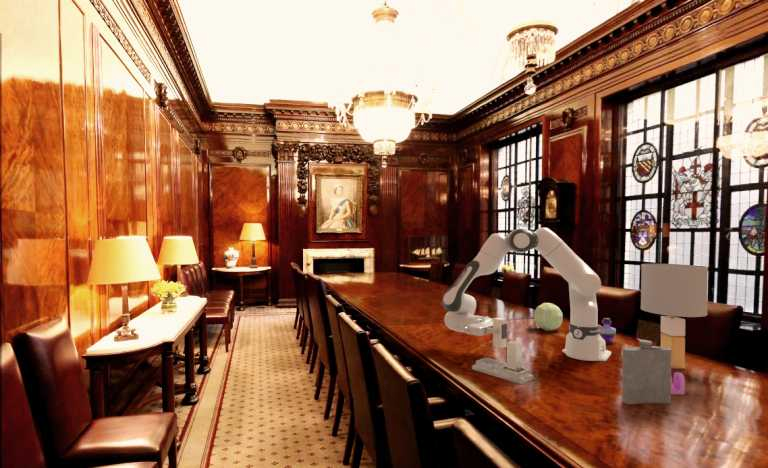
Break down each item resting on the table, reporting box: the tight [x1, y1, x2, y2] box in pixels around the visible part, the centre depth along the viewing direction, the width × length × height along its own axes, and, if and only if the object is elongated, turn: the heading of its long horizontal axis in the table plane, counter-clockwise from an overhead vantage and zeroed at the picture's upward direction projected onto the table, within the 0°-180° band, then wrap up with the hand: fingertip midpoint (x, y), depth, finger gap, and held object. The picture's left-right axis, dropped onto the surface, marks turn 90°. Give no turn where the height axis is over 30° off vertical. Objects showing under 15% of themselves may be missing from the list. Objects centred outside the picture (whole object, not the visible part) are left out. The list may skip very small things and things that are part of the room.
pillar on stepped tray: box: [471, 340, 534, 385], centre depth 165 cm, size 8×22×14 cm, turn 42°
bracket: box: [671, 371, 686, 395], centre depth 152 cm, size 13×6×7 cm, turn 177°
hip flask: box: [621, 339, 672, 405], centre depth 139 cm, size 16×4×20 cm, turn 94°
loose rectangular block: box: [492, 316, 508, 349], centre depth 182 cm, size 4×5×12 cm
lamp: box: [640, 263, 709, 370], centre depth 176 cm, size 23×23×42 cm
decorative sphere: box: [533, 302, 564, 332], centre depth 238 cm, size 15×15×15 cm
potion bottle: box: [599, 317, 617, 344], centre depth 213 cm, size 9×9×12 cm
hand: (501, 330), depth 182 cm, fingers closed on loose rectangular block, 4 cm apart
